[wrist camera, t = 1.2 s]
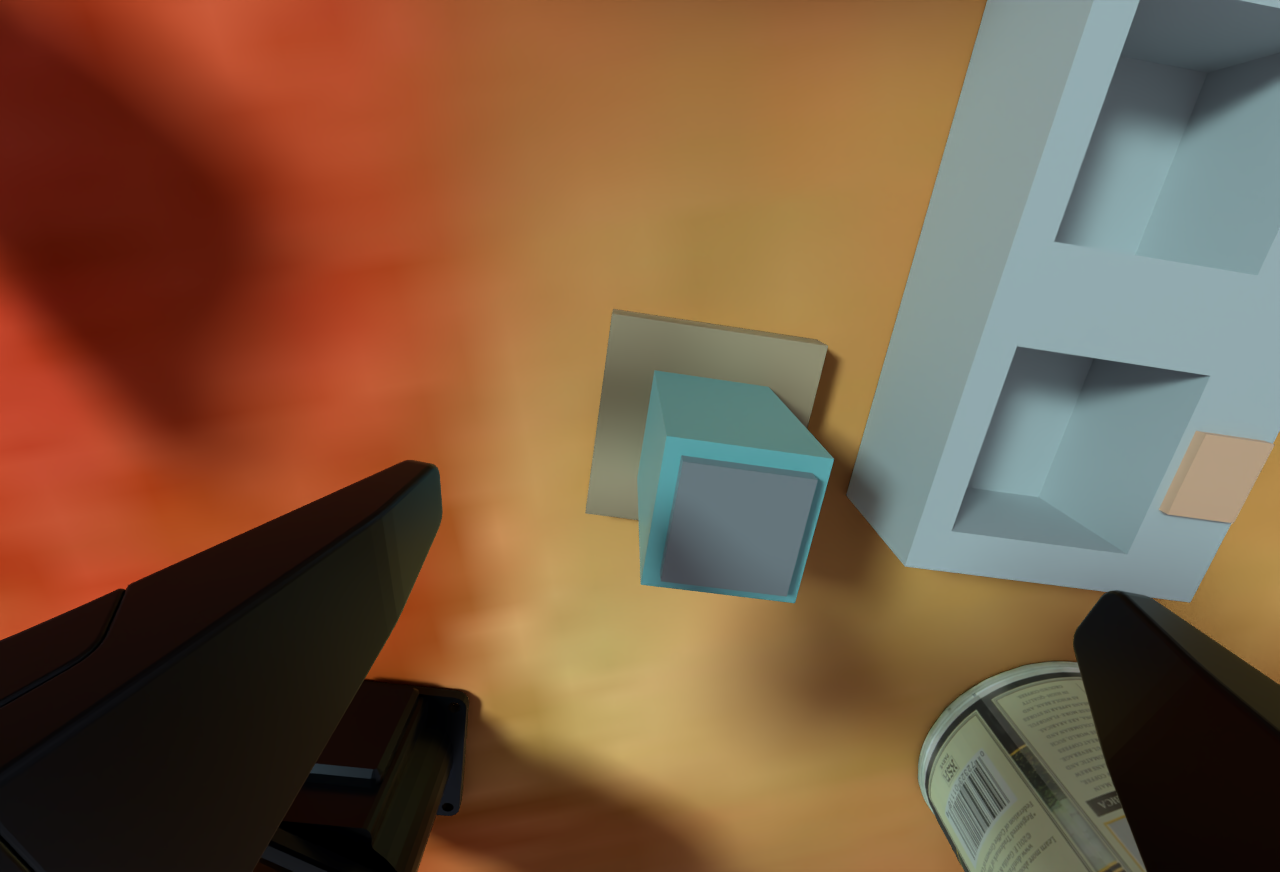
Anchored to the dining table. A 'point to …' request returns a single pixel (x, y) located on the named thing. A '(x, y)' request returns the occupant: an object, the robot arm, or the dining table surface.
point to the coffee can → (1025, 778)
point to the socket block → (1090, 302)
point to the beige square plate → (689, 352)
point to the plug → (726, 489)
